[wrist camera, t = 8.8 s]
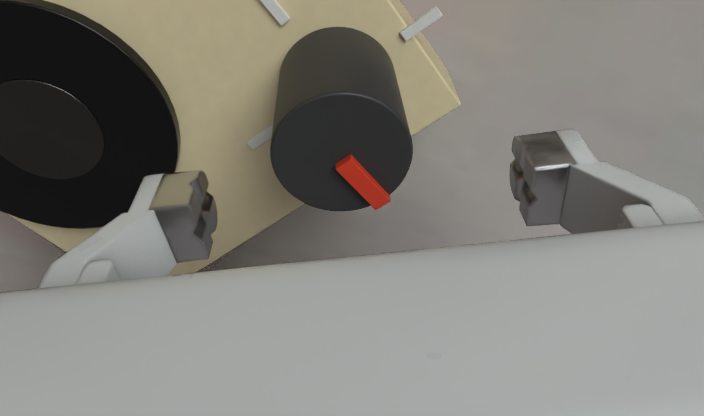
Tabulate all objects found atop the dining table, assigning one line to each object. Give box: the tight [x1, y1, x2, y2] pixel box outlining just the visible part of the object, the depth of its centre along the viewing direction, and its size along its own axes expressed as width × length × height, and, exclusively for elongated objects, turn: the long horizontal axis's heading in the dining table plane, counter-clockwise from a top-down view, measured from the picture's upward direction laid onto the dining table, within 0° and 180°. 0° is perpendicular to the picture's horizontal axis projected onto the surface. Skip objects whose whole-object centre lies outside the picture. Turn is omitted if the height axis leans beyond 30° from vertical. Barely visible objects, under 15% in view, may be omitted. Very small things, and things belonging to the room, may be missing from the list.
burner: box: [0, 0, 181, 229], centre depth 19 cm, size 9×9×1 cm
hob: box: [6, 0, 461, 275], centre depth 20 cm, size 18×15×3 cm
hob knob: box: [270, 27, 413, 211], centre depth 17 cm, size 4×4×5 cm
